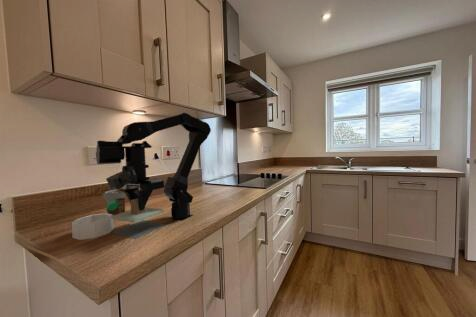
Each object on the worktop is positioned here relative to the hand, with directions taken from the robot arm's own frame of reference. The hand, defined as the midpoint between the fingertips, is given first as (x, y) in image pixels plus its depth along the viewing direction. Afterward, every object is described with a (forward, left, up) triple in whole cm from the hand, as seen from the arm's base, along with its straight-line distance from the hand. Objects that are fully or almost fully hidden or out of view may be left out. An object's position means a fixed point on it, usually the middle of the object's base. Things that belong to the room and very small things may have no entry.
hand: (138, 209), depth 65 cm
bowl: (+8, -11, -7) cm, 15 cm away
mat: (0, 0, -7) cm, 7 cm away
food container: (-6, -24, -7) cm, 26 cm away
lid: (0, 0, -2) cm, 2 cm away
